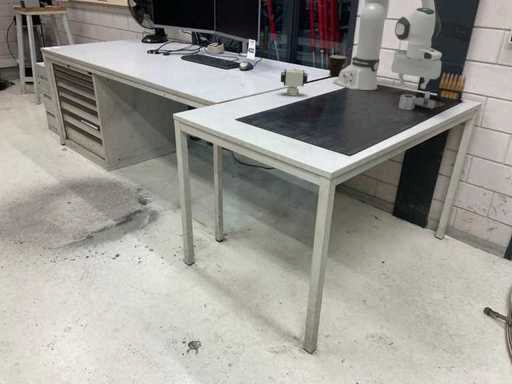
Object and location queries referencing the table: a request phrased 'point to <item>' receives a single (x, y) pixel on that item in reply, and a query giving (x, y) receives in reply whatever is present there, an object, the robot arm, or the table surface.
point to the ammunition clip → (451, 88)
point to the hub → (407, 102)
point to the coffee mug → (336, 65)
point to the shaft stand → (427, 102)
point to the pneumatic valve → (293, 80)
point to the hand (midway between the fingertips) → (412, 86)
